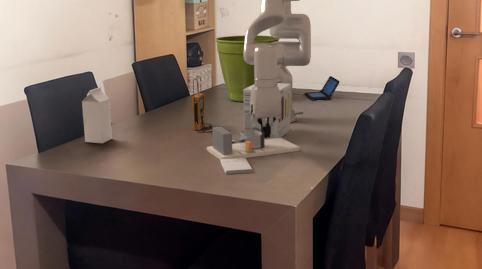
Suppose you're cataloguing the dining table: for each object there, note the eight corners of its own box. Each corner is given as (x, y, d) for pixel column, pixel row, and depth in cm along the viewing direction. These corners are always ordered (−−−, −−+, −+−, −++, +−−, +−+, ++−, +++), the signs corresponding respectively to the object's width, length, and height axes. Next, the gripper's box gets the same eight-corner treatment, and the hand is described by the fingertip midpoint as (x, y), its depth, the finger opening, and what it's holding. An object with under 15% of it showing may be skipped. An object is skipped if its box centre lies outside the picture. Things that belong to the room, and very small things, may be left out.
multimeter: (216, 133, 236) (214, 80, 231) (190, 132, 238) (188, 80, 233) (225, 124, 250) (224, 74, 245) (200, 123, 252) (199, 73, 247)
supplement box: (278, 141, 224) (278, 91, 220) (243, 138, 229) (242, 89, 224) (291, 130, 240) (291, 82, 236) (258, 127, 245) (258, 81, 240)
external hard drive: (225, 175, 189) (220, 163, 201) (252, 174, 190) (245, 162, 202) (225, 170, 189) (220, 158, 201) (252, 168, 190) (245, 157, 202)
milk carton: (112, 138, 231) (109, 87, 226) (102, 143, 224) (98, 91, 220) (95, 137, 233) (91, 86, 228) (84, 142, 227) (80, 90, 222)
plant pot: (280, 104, 285) (281, 40, 278) (215, 105, 286) (213, 41, 279) (278, 92, 314) (278, 34, 307) (218, 93, 315) (216, 35, 308)
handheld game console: (303, 95, 308) (303, 76, 305) (330, 94, 310) (330, 75, 307) (311, 101, 293) (312, 81, 290) (339, 100, 295) (340, 80, 292)
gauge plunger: (255, 142, 217) (255, 127, 216) (267, 149, 208) (267, 133, 207) (227, 146, 213) (227, 130, 212) (238, 153, 204) (238, 137, 203)
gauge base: (281, 140, 225) (281, 118, 223) (299, 150, 212) (299, 126, 210) (206, 150, 214) (206, 126, 212) (221, 161, 202) (221, 136, 200)
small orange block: (248, 149, 208) (248, 140, 207) (251, 151, 205) (251, 142, 205) (245, 149, 207) (245, 141, 207) (248, 152, 205) (248, 143, 204)
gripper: (281, 80, 216) (281, 132, 220) (240, 83, 210) (241, 137, 215) (291, 83, 209) (290, 137, 213) (249, 87, 203) (250, 142, 208)
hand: (266, 136), depth 214 cm, fingers closed
